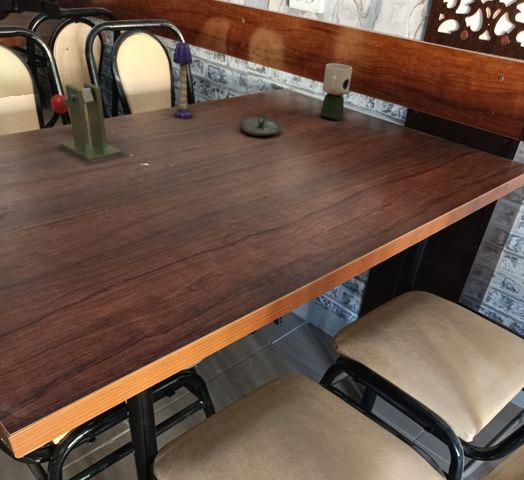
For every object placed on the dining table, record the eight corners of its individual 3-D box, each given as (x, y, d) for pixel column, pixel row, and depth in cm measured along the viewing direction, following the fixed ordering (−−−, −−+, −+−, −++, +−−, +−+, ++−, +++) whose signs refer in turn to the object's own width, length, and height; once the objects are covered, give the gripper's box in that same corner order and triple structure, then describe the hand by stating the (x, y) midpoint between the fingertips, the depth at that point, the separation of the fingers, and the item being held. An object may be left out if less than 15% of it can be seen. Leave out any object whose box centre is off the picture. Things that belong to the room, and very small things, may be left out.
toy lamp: (196, 117, 132) (196, 44, 121) (184, 120, 129) (182, 45, 118) (183, 113, 134) (181, 40, 123) (170, 116, 131) (167, 42, 120)
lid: (272, 132, 132) (271, 111, 130) (289, 133, 124) (288, 111, 122) (234, 136, 129) (232, 114, 126) (249, 138, 120) (247, 115, 118)
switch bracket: (60, 148, 107) (49, 82, 99) (93, 142, 112) (85, 77, 104) (89, 164, 102) (79, 95, 94) (123, 156, 106) (116, 90, 98)
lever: (51, 115, 108) (45, 97, 107) (66, 113, 110) (61, 94, 109) (82, 106, 99) (76, 85, 97) (98, 103, 101) (92, 83, 99)
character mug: (339, 125, 137) (348, 71, 128) (314, 120, 138) (321, 67, 130) (347, 115, 145) (356, 64, 136) (323, 111, 146) (330, 60, 138)
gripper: (46, 14, 122) (87, 31, 110) (-67, 22, 109) (-33, 42, 97) (38, -25, 117) (80, -11, 105) (-81, -21, 104) (-47, -5, 92)
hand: (26, 14), depth 101 cm, fingers open, 13 cm apart
